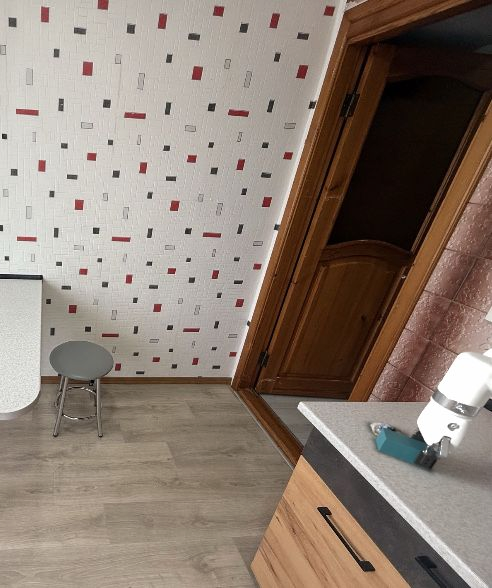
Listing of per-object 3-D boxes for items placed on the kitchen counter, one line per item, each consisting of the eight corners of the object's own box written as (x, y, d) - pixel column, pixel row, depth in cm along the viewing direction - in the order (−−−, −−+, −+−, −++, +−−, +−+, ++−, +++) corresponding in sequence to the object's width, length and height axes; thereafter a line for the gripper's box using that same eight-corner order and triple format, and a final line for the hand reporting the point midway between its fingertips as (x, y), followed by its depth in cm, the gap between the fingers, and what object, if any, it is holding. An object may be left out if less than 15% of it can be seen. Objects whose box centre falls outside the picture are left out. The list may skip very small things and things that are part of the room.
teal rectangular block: (423, 458, 86) (432, 445, 84) (429, 470, 82) (438, 457, 80) (375, 439, 90) (382, 427, 89) (378, 450, 87) (386, 438, 85)
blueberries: (408, 438, 92) (411, 433, 91) (390, 445, 89) (393, 440, 88) (381, 421, 97) (384, 416, 97) (363, 426, 95) (366, 421, 94)
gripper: (495, 433, 69) (449, 491, 76) (463, 389, 82) (427, 442, 90) (446, 416, 72) (407, 473, 80) (423, 377, 86) (391, 429, 93)
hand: (418, 456), depth 84 cm, fingers open, 5 cm apart
